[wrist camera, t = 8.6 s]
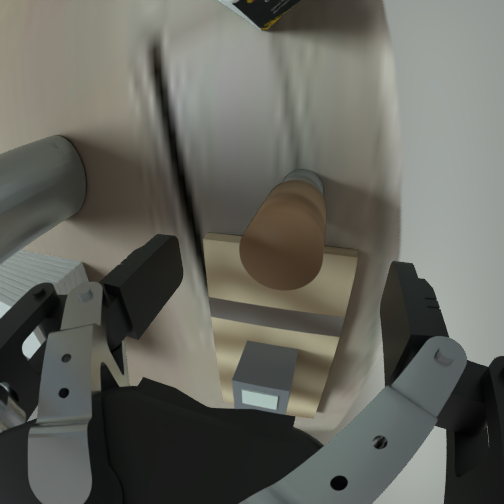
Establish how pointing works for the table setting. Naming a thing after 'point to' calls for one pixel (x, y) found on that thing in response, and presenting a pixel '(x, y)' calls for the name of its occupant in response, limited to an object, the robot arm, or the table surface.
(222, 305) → the board
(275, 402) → the block
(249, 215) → the table surface
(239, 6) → the medicine bottle
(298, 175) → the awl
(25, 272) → the white rectangular block
